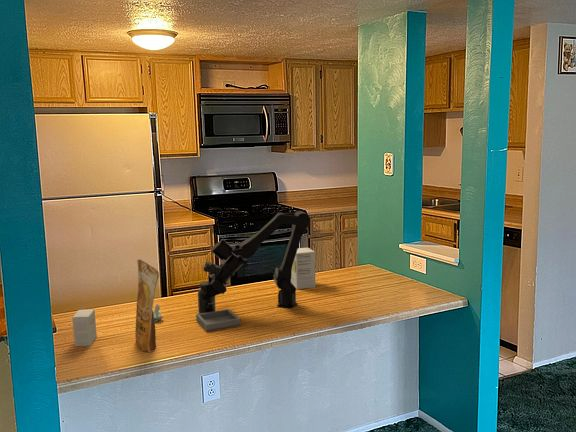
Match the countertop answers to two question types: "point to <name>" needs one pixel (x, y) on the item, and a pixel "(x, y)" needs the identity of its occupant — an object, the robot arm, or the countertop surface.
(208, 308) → the supplement bottle
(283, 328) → the countertop surface
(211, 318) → the tray
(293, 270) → the supplement box
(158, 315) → the pacifier
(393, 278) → the countertop surface
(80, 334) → the small box
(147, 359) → the countertop surface
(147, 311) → the pancake mix bag
